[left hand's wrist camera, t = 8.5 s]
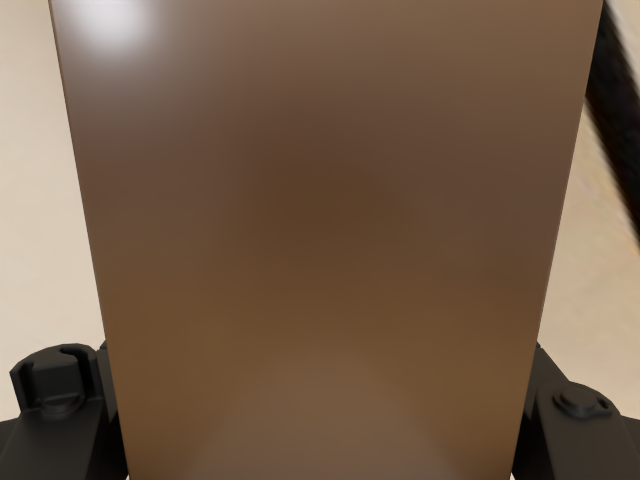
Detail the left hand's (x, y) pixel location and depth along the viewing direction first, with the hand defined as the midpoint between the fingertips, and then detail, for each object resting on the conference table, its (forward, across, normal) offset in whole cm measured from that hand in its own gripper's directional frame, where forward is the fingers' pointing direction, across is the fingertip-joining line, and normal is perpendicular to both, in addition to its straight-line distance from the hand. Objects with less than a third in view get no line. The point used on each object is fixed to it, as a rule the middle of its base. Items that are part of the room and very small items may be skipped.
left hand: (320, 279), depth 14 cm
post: (+1, 0, -33) cm, 33 cm away
